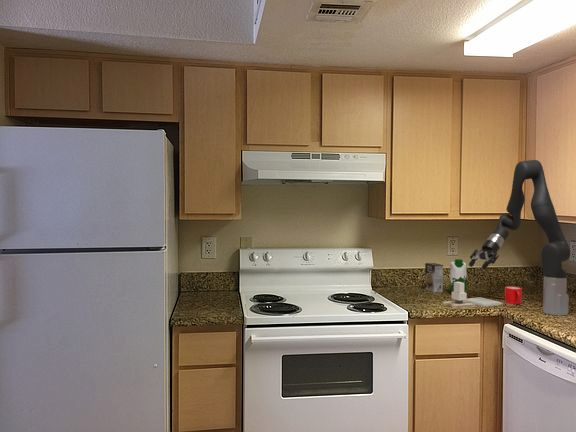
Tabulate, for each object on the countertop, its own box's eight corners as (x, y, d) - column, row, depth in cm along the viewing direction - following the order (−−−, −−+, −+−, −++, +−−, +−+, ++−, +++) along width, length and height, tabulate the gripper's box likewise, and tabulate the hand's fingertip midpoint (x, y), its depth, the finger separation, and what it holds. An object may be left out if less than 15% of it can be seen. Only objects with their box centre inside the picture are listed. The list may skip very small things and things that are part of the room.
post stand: (475, 306, 216) (475, 293, 216) (458, 308, 212) (458, 295, 212) (459, 302, 226) (459, 289, 226) (442, 304, 222) (442, 291, 222)
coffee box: (424, 289, 260) (424, 263, 260) (433, 289, 262) (433, 262, 262) (433, 292, 252) (434, 264, 251) (443, 291, 254) (443, 264, 253)
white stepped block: (466, 299, 218) (466, 282, 217) (458, 300, 216) (459, 283, 215) (459, 297, 222) (459, 281, 222) (451, 298, 220) (451, 282, 220)
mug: (512, 306, 218) (512, 290, 217) (502, 300, 230) (502, 286, 229) (528, 306, 217) (528, 290, 217) (517, 301, 229) (517, 286, 229)
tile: (502, 304, 221) (502, 302, 221) (484, 306, 216) (484, 304, 216) (480, 299, 234) (480, 297, 234) (463, 300, 229) (463, 299, 229)
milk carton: (450, 295, 244) (450, 259, 244) (449, 292, 253) (449, 258, 253) (467, 296, 242) (467, 260, 241) (465, 292, 251) (465, 258, 250)
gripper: (478, 238, 233) (462, 260, 229) (501, 240, 220) (483, 264, 216) (485, 247, 235) (469, 269, 231) (508, 250, 222) (491, 273, 218)
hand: (476, 267), depth 223 cm, fingers open, 8 cm apart
